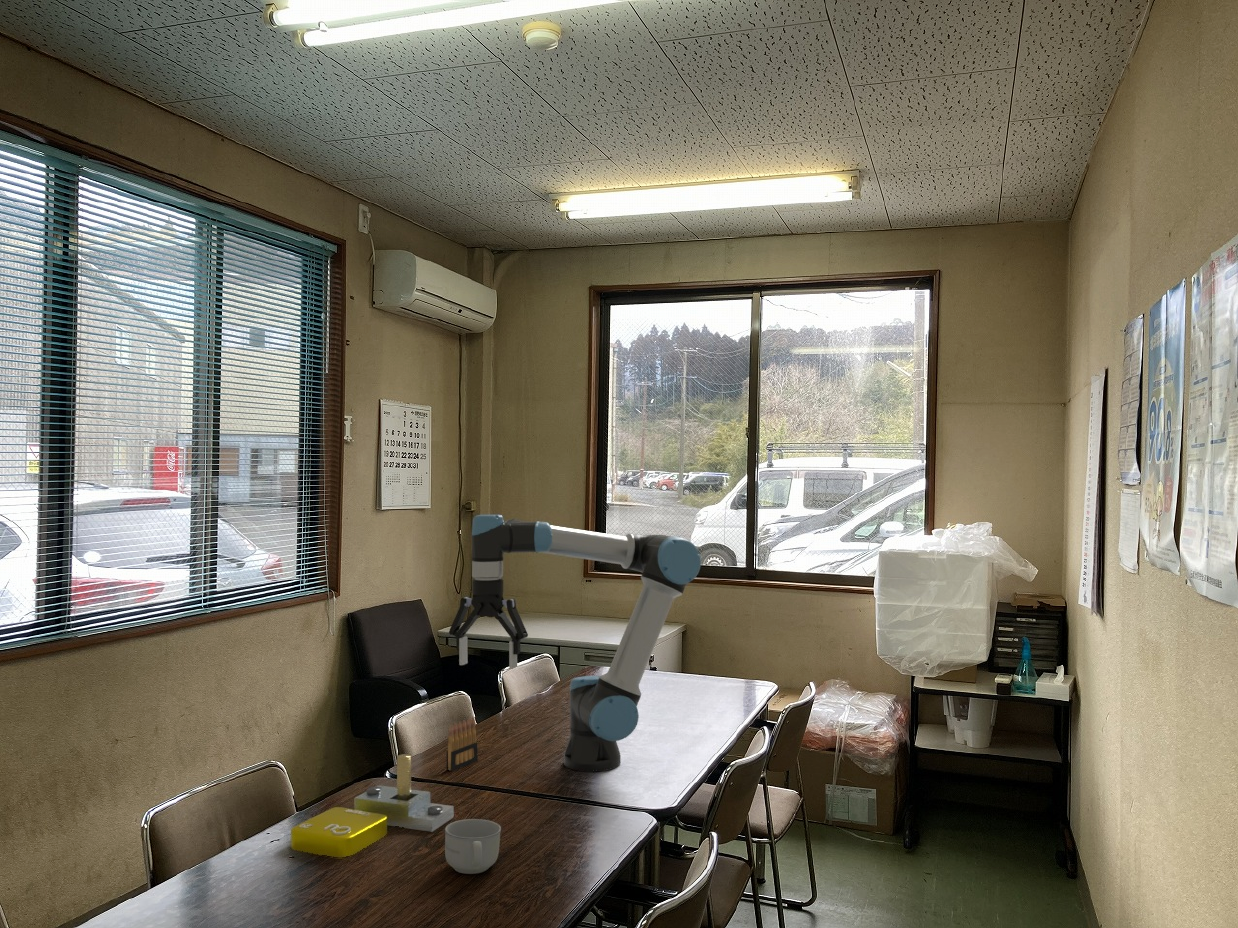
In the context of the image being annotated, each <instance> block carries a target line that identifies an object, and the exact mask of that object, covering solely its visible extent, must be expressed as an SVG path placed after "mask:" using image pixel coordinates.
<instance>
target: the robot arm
mask: <svg viewBox="0 0 1238 928" xmlns="http://www.w3.org/2000/svg"><path fill="white" fill-rule="evenodd" d="M471 525H472V527H471V542H472V543H471V553H472V554H471V556H472V558H471V559H472V560H471V577H472V578H473V580H472V581H471V583H472V585H471V588H472V589H471V591H472V592H471V593H472V598H470V597H469V596H463V597H461V598H460V604H459V608H458V610H457V612H456V614H455V617H454V619H453V622H452V623H451V627H449V631H448V634H449V635H450V636H451V635H452V636H454V637H455V639H456V646H455V649H456V651H458V652H459V654H458V655H459V656H458V657H459V659H458V662H459V664H458V665H459V666H465V665H467V664H468V663H469V661H468V657H469V655H468V649H469V648H468V645H469V644H468V642H469V641H468V636H466V634H467V633H468V631H469V630H470V628H471V627H472V626H473V625H474V623H475V622H476V621H477V620H478V618H485V617H487V618H494V619H496V620H497V621H498V622H499V624H500V625H501V627H502V628H503V629H504V631H505V632H506V633H507V635H508V636H509V638H510V639H511V640H509V643H508V644H509V645H508V647H509V648H508V649H509V650H508V651H509V653H508V654H509V655H508V658H509V660H508V661H509V662H508V663H509V664H508V665H509V670H513V669H516V668H517V667H518V655H520V653H521V641H522V640H523V639H525V638H527V637H528V636H529V633H528V631H527V628H526V626H525V625H524V622H523V620H522V618H521V616H520V613H519V611H518V609H517V604H516V599H515V598H510V599H504V579H503V578H502V577H503V576H504V554H511V553H513V554H514V553H515V554H517V553H521V554H522V553H537V554H538V553H541V554H542V553H543V554H548V555H549V554H550V555H555V556H563V557H569V558H577V559H582V560H590V561H597V562H603V563H609V564H617V565H621V567H622V569H625V570H633V571H636V572H640V573H641V575H640V579H641V582H642V583H643V584H642V585H643V587H642V588H641V591H640V593H639V597H638V599H637V601H636V604H635V605H634V608H633V611H632V612H631V613H632V614H631V615H630V617H629V619H628V620H629V621H628V623H627V626H626V627H625V630H624V633H623V634H622V637H621V639H620V642H619V645H618V648H617V649H616V651H615V654H614V657H613V659H612V661H611V664H610V666H609V668H608V671H607V672H606V673H603V674H601V675H585V676H584V675H583V676H578V677H574V678H572V679H571V680H570V683H569V684H570V685H569V703H570V704H569V709H570V710H569V712H570V713H569V717H570V718H569V719H570V722H569V723H570V726H569V727H570V728H569V729H570V733H569V734H570V735H569V737H568V741H567V744H566V748H565V751H564V755H563V766H565V767H566V768H568V769H571V770H574V771H578V772H587V773H588V772H589V773H590V772H604V771H609V770H612V769H615V768H617V767H619V766H620V765H621V752H620V748H619V745H618V743H617V741H621V740H623V739H626V738H627V737H629V736H630V735H631V734H632V733H633V732H634V731H635V730H636V727H637V725H638V723H639V718H640V717H639V709H638V704H639V701H640V699H641V698H642V697H641V696H642V691H641V689H640V683H641V681H642V678H643V676H644V673H645V671H646V669H647V666H648V664H649V661H650V659H651V656H652V654H653V652H654V649H655V647H656V644H657V642H658V639H659V637H660V634H661V631H662V630H663V627H664V624H665V622H666V620H667V617H668V615H669V612H670V609H671V607H672V604H673V603H674V600H675V599H676V598H678V597H680V596H681V597H682V596H683V593H684V591H685V589H686V587H687V584H688V583H690V582H692V581H693V580H695V578H696V577H697V575H699V573H700V570H701V567H702V566H701V565H702V563H701V562H702V559H701V554H700V552H699V549H698V548H697V547H696V545H695V544H694V543H693V542H691V541H690V540H689V539H686V538H684V537H681V536H678V535H675V536H671V535H665V534H636V533H635V534H634V533H627V534H626V535H624V536H623V535H617V534H611V533H603V532H597V531H593V530H592V531H590V530H584V529H579V528H572V527H564V526H558V525H551V524H550V523H549V522H547V521H537V520H536V521H526V520H519V519H515V518H512V519H508V520H506V521H504V517H503V515H502V514H477V515H475V516H474V517H473V518H472V524H471ZM471 605H472V607H473V610H472V611H471V613H470V614H469V616H468V617H467V619H465V617H466V615H467V613H468V610H469V608H470V606H471ZM503 608H506V610H507V613H508V615H509V618H510V619H509V618H508V617H507V614H506V612H505V611H504V609H503ZM464 619H465V621H464Z"/></svg>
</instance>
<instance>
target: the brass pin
mask: <svg viewBox="0 0 1238 928" xmlns="http://www.w3.org/2000/svg"><path fill="white" fill-rule="evenodd" d="M396 764H397V765H396V768H397V771H396V773H397V774H396V775H397V777H396V785H397V786H396V788H397V800H403V801H408V800H410V799H411V790H412V755H411V754H407V753H404V754H403V753H402V754H398V755H397V759H396Z"/></svg>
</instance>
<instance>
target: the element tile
mask: <svg viewBox="0 0 1238 928" xmlns="http://www.w3.org/2000/svg"><path fill="white" fill-rule="evenodd" d="M386 834H387V835H388V825H387V816H386V815H383V814H377V813H371V812H365V811H359V810H354V809H353V808H346V807H341V806H340V807H339V806H334V807H331V808H329V809H327V810H326V811H323V812H322V813H320V814H318V815H316V816H313V817H311V818H309V819H307V820H305V821H303V822H301V823H298V824H297V825H295V826H293V827H292V828H291V829H290V849H291V850H293V851H296V850H297V852H302V851H303V853H307V852H308V854H312V853H313V854H312V855H317V854H318V856H322V855H327V856H334V857H346V856H350V855H353V854H354V855H356V854H358V853H359V852H361V851H363V850H364V849H363V848H365V849H367V848H368V847H370V846H371V845H373V844H374V842H375V843H377V842H378V841H380V840H381V839H380V838H382V837H383V838H385V837H386V836H387V835H386ZM385 835H386V836H385ZM384 836H385V837H384ZM383 838H382V839H383ZM379 839H380V840H379ZM377 840H378V841H377ZM376 841H377V842H376ZM372 843H373V844H372ZM370 844H371V845H370ZM369 845H370V846H369ZM367 846H368V847H367ZM362 849H363V850H362ZM360 850H361V851H360ZM358 851H359V852H358ZM357 852H358V853H357ZM355 853H356V854H355ZM354 855H353V856H354ZM327 856H326V857H327ZM350 857H351V856H350Z"/></svg>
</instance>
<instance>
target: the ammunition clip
mask: <svg viewBox="0 0 1238 928" xmlns="http://www.w3.org/2000/svg"><path fill="white" fill-rule="evenodd" d="M478 753H479V751H478V741H477V731H476V722H475V717H474V716H472V717H471V719H470V718H467V721H466V720H465V719H463V721H461V720H460V721H459V722H458V723H457V722H454V723H453V724H450V725H449V729H448V739H447V750H446V766H445V767H446V771H447V770H449V771H448V772H454V771H453V770H455V771H457V770H459V769H458V768H460V767H462V768H464V767H466V766H469V765H471V764H473V763H476V762H478V761H479V758H478V757H479V756H478ZM456 769H457V770H456ZM460 769H461V768H460Z"/></svg>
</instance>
